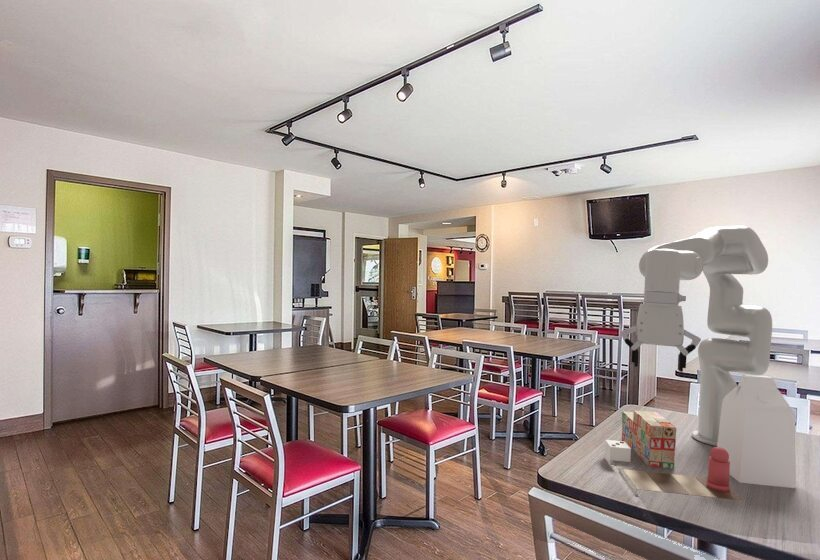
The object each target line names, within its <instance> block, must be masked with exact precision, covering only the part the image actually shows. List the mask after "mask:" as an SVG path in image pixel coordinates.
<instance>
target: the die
mask: <svg viewBox="0 0 820 560" xmlns="http://www.w3.org/2000/svg"><path fill="white" fill-rule="evenodd" d="M604 444H605V445H604V459H605V460H607V461H606V462H607V464H608V465H609V466H611V465H614V466H613V467H617V466H618V465H617V464H616V463H615V461H616V462H627V463H631V456H632V455H631V454H632V449H631V448H630V447H629V446H628V445H627V443H626V442H625V441H622V440H614V439H613V440H612V439H605V441H604Z"/></svg>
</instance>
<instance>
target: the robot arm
mask: <svg viewBox="0 0 820 560" xmlns="http://www.w3.org/2000/svg"><path fill="white" fill-rule="evenodd" d="M768 264H769V255H768V251H767V250H766V247H765V246H764V244H763V241H762V240H761V239H760V237H759V235H758V234H757V232H755V230H754V229H752V228H751V227H749V226H747V225H746V226H745V225H735V226H734V225H732V226H731V225H730V226H714V227H708V228H705V229H702V230H700V231H699V232H697V233H695V234H694V235H692V236H690V237H688V238H687V237H686V238H683V239H679V240H674V241H670V242H667V243H662V244H660V245H656V246H653V247H652V248H649V249H648V250H646V251H645V252H644V253H643V254H642V256H641V257H640V259H639V263H638V268H639V272H640V274H641V276H643V277H644V288H643V289H644V290H643V294H644V295H643V303H640V304H639V307H638V313H637V319H636V325H633V326H631V327H629V328H626V329H623V330H620V335H621V338H623V341H624V343H625V344H626V345H627V346H628V347H629V348H630V349H631V359H630V360H631V361H630V362H631V363H633V365H634V367H636V368H637V367H638V366H639V349H638V348H640V347H641V346H642V345H643V344H644V345H651V346H661V347H662V346H663V347H673V348H674V347H676V348H677V349H678V351H679V354H677V355H678V356H677V357H678V358H677V370H678V371H679V372H681V373H683V372H684V369H686V368H687V356H688V355H689V354H690V353H692V352H693V351H694V350H695V349H696V348H697V347H698V348H697V354H698V355H697V356H698V361H699V369H700V373H699V374H700V377H699V378H700V379H699V380H700V382H699V386H700V387H699V402H698V403H699V404H698V423H697V424H698V427H697V429H696V430H693V431H692V432H691V435H692V438H694V439H695V440H697V441H699V442H701V443H703V444H707V445H710V446H713V447H717V442H718V434H719V425H720V417H721V409H722V401H723V399H724V397H725V396H726V395H727V394H728V393H729V392H731V391H732V390H733V389H734V388H735V387H736V386H738V384H737V381H736V379H735V378H734V377H733V375H732V374H731V373H739V374H743V375H754V376H764V375H765V374H766V373H767V371H768V369H769V366H770V360H771V348H772V335H773V319H772V315H771V312H770V311H769V309H767V307H763V306H758V305H747V304H743V303H744V302H743V299H744V288H743V285H742V284H741V283H740V281H739V280H738V279H737V277H735V276H734V275H750V276H751V275H759V274H762V273H764V271H766V270H767V268H768ZM702 273H703V274H704V277H705V278H706V280H707V283H708V286H709V300H708V306H707V307H708V308H707V320H706V321H707V322H706V323H707V324H706V325H707V328H708V330H709V331H711V332H712V333H714V334H719V335H725V336H733V337H734V336H736V337H743V338H744V337H745V338H749V341H743V340H736V339H729V338H720V337H710V338H705V339H703V340H702V339H701V337H699V336H697V335H695V334H694V333H691V332H690V331H688V330H685V329H684V328H685V326H684V314H683V308H682V306H681V305H679V304H680V302H681V303H682V302H686V299H687V297H686V296H685V295H683V294H681V293H680V283H681V281H691V280H694V279H697V278H698V277H699V276H700V275H701V274H702ZM633 333H635V338H636V340H635V341H634V342H633V341H632V340H631V339H630V337H629V336H628V335H630V334H633ZM684 337H687V338H689V339H690V340H691V342H690V344H689V345H687V346H686V347H684ZM730 372H731V373H730Z"/></svg>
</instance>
